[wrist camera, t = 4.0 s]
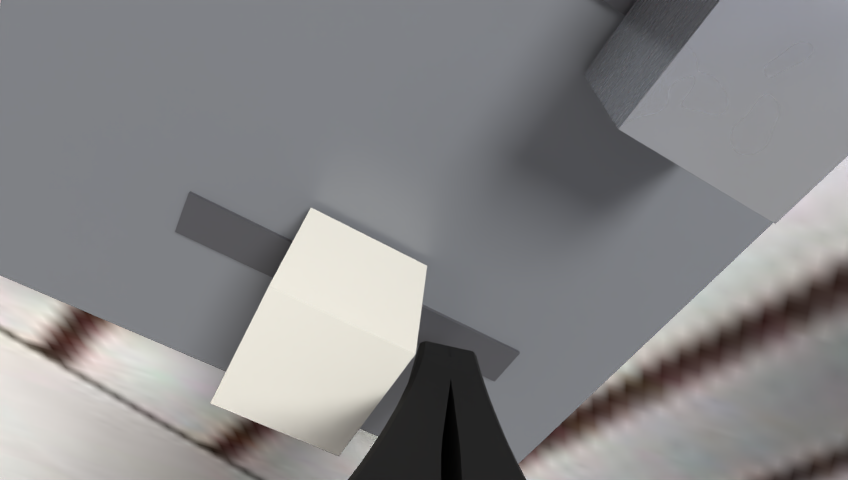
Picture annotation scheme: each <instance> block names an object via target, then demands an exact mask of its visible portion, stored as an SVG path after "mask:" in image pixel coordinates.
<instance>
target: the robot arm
mask: <svg viewBox="0 0 848 480" xmlns="http://www.w3.org/2000/svg"><path fill="white" fill-rule="evenodd" d="M348 480H526V478H525V477H524V475H523V473H522V471H521V469H520V467H519V465H518V463H517V461H516V459H515V457H514V454H513V452H512V450H511V448H510V446H509V444H508V442H507V439H506V437H505V435H504V433H503V430H502V428H501V425H500V423H499V420H498V418H497V416H496V413H495V411H494V408H493V405H492V403H491V400H490V397H489V395H488V392H487V389H486V386H485V383H484V380H483V377H482V374H481V370H480V367H479V364H478V360H477V356H476V355H475V353H474V352H473V351H469V350H465V349H460V348H456V347H451V346H447V345H442V344H438V343H434V342H429V341H424V342H421V343H420V344H419V347H418V350H417V354H416V357H415V360H414V364H413V367H412V371H411V374H410V377H409V381H408V384H407V386H406V388H405V390H404V392H403V394H402V396H401V398H400V400H399V402H398V404H397V406H396V408H395V410H394V412H393V413H392V415H391V417H390V418H389V420H388V422H387V423H386V425H385V427H384V429H383V430H382V432H381V434H380V435H379V437H378V438H377V440H376V441H375V443H374V444H373V446H372V447H371V449H370V450H369V452H368V453H367V455H366V456H365V457H364V459H363V460H362V462H361V463H360V465H359V466H358V467H357V469H356V470H355V471H354V472H353V474H352V475H351V476H350V478H349V479H348Z"/></svg>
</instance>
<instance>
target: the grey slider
mask: <svg viewBox="0 0 848 480" xmlns="http://www.w3.org/2000/svg"><path fill="white" fill-rule="evenodd" d="M584 76H585V77H586V79H587V80H588V82H589V83H590V85H591V87H592V88H593V90H594V91H595V93H596V95H597V96H598V98H599V99H600V101H601V102H602V104H603V106H604V107H605V109H606V110H607V112H608V114H609V115H610V117H611V118H612V120H613V121H614V123H615V125H616V126H617V128H618V129H619V130H621V131H622V132H624V133H626V134H627V135H629V136H630V137H632V138H634V139H635V140H637V141H639V142H640V143H642V144H644V145H645V146H647V147H649V148H650V149H652V150H654V151H655V152H657V153H659V154H660V155H662V156H664V157H665V158H667V159H669V160H670V161H672V162H674V163H675V164H677V165H679V166H680V167H682V168H684V169H685V170H687V171H689V172H690V173H692V174H694V175H695V176H697V177H699V178H700V179H702V180H704V181H705V182H707V183H709V184H710V185H712V186H714V187H715V188H717V189H719V190H720V191H722V192H724V193H725V194H727V195H729V196H730V197H732V198H733V199H735V200H737V201H738V202H740V203H742V204H743V205H745V206H747V207H748V208H750V209H752V210H753V211H755V212H757V213H758V214H760V215H762V216H763V217H765V218H767V219H768V220H770V221H772V222H773V223H775V224H776V223H777V222H778V221H779V220H780V219H781V218H782V217H783V216H784V215H785V214H786V213H787V212H788V211H789V210H791V209H792V208H793V207H794V206H795V205H796V204H797V203H798V202H799V201H800V200H801V199H802V198H803V197H804V196H805V195H806V194H808V193H809V192H810V191H811V190H812V189H813V188H814V187H815V186H816V185H817V184H818V183H819V182H820V181H821V180H822V179H823V178H824V177H826V176H827V175H828V174H829V173H830V172H831V171H832V170H833V169H834V168H835V167H836V166H837V165H838V164H839V163H840V162H841V161H843V160H844V159H845V158H846V157H847V156H848V0H636V1H635V2H634V4H633V5H632V7H631V8H630V9H629V11H628V12H627V14H626V15H625V16H624V18H623V19H622V21H621V22H620V23H619V25H618V26H617V28H616V29H615V30H614V32H613V33H612V35H611V36H610V38H609V39H608V40H607V42H606V43H605V45H604V46H603V47H602V49H601V50H600V52H599V53H598V54H597V56H596V57H595V59H594V60H593V61H592V63H591V64H590V66H589V67H588V69H587V70H586V71H585V73H584Z"/></svg>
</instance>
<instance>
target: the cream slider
mask: <svg viewBox="0 0 848 480" xmlns="http://www.w3.org/2000/svg"><path fill="white" fill-rule="evenodd" d="M426 271H427V265H425V264H423V263H421V262H419V261H417V260H415V259H413V258H411V257H409V256H407V255H405V254H403V253H401V252H399V251H397V250H395V249H393V248H391V247H389V246H387V245H385V244H383V243H381V242H379V241H377V240H375V239H373V238H371V237H369V236H367V235H365V234H363V233H361V232H359V231H357V230H355V229H353V228H351V227H349V226H347V225H345V224H343V223H341V222H339V221H337V220H335V219H333V218H331V217H329V216H327V215H325V214H323V213H321V212H319V211H317V210H315V209H313V208H310V210H309V212H308V214H307V216H306V218H305V220H304V221H303V223H302V225H301V227H300V229H299V231H298V233H297V234H296V236H295V238H294V240H293V242H292V244H291V246H290V248H289V249H288V251H287V253H286V255H285V257H284V259H283V261H282V262H281V264H280V266H279V268H278V270H277V272H276V274H275V276H274V277H273V279H272V281H271V283H270V285H269V287H268V289H267V291H266V293H265V295H264V297H263V299H262V301H261V303H260V305H259V307H258V309H257V311H256V313H255V315H254V317H253V319H252V321H251V323H250V325H249V327H248V329H247V331H246V333H245V335H244V337H243V339H242V341H241V343H240V345H239V347H238V349H237V351H236V353H235V355H234V357H233V359H232V361H231V363H230V365H229V367H228V369H227V371H226V373H225V375H224V377H223V379H222V381H221V383H220V385H219V387H218V389H217V391H216V393H215V395H214V397H213V399H212V401H211V404H213V405H215V406H218V407H220V408H223V409H225V410H228V411H230V412H232V413H235V414H237V415H240V416H242V417H245V418H247V419H249V420H252V421H254V422H257V423H259V424H262V425H264V426H266V427H269V428H271V429H274V430H276V431H279V432H281V433H283V434H286V435H288V436H291V437H293V438H296V439H298V440H300V441H303V442H305V443H308V444H310V445H313V446H315V447H317V448H320V449H322V450H325V451H327V452H330V453H332V454H334V455H337V456H339V455H340V454H341V453H342V451H343V450H344V449H345V447H346V446H347V445H348V443H349V442H350V441H351V439H352V438H353V437H354V435H355V434H356V433H357V431H358V430H359V429H360V427H361V426H362V425H363V423H364V422H365V421H366V419H367V418H368V417H369V415H370V414H371V413H372V411H373V410H374V409H375V407H376V406H377V405H378V403H379V402H380V401H381V399H382V398H383V397H384V395H385V394H386V393H387V391H388V390H389V389H390V387H391V386H392V385H393V383H394V382H395V381H396V379H397V378H398V377H399V375H400V374H401V373H402V371H403V370H404V369H405V367H406V366H407V365H408V363H409V362H410V361H411V360H412V358H413V357H414V356H415V354H416V348H417V340H418V332H419V325H420V317H421V309H422V302H423V294H424V286H425V279H426Z"/></svg>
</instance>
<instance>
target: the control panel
mask: <svg viewBox="0 0 848 480" xmlns="http://www.w3.org/2000/svg"><path fill="white" fill-rule="evenodd" d="M635 1H636V0H1V3H0V275H1V276H3V277H5V278H8V279H10V280H13V281H15V282H17V283H20V284H22V285H24V286H27V287H29V288H31V289H34V290H36V291H38V292H41V293H43V294H45V295H48V296H50V297H52V298H55V299H57V300H59V301H62V302H64V303H67V304H69V305H71V306H74V307H76V308H78V309H81V310H83V311H85V312H88V313H90V314H92V315H95V316H97V317H99V318H102V319H104V320H106V321H109V322H111V323H113V324H116V325H118V326H121V327H123V328H125V329H128V330H130V331H132V332H135V333H137V334H139V335H142V336H144V337H146V338H149V339H151V340H153V341H156V342H158V343H160V344H163V345H165V346H167V347H170V348H172V349H175V350H177V351H179V352H182V353H184V354H186V355H189V356H191V357H193V358H196V359H198V360H200V361H203V362H205V363H207V364H210V365H212V366H214V367H217V368H219V369H221V370H224V371H227V369H228V367H229V365H230V363H231V361H232V359H233V357H234V355H235V353H236V351H237V349H238V347H239V345H240V343H241V341H242V339H243V337H244V335H245V333H246V331H247V329H248V327H249V325H250V323H251V321H252V319H253V317H254V315H255V313H256V311H257V309H258V307H259V305H260V303H261V301H262V299H263V297H264V295H265V293H266V291H267V289H268V287H269V285H270V283H271V281H272V279H273V277H274V276H275V274H276V272H277V270H278V268H279V266H280V264H281V262H282V261H283V259H284V257H285V255H286V253H287V251H288V249H289V248H290V246H291V244H292V242H293V240H294V238H295V236H296V234H297V233H298V231H299V229H300V227H301V225H302V223H303V221H304V220H305V218H306V216H307V214H308V212H309V210H310V208H313V209H315V210H317V211H319V212H321V213H323V214H325V215H327V216H329V217H331V218H333V219H335V220H337V221H339V222H341V223H343V224H345V225H347V226H349V227H351V228H353V229H355V230H357V231H359V232H361V233H363V234H365V235H367V236H369V237H371V238H373V239H375V240H377V241H379V242H381V243H383V244H385V245H387V246H389V247H391V248H393V249H395V250H397V251H399V252H401V253H403V254H405V255H407V256H409V257H411V258H413V259H415V260H417V261H419V262H421V263H423V264H425V265H427V271H426V279H425V286H424V294H423V302H422V309H421V317H420V325H419V332H418V340H417V348H416V354H417V350H418V347H419V344H420V343H421V342H424V341H429V342H434V343H438V344H442V345H447V346H451V347H456V348H460V349H465V350H469V351H473V352H474V353H475V355H476V356H477V360H478V364H479V367H480V370H481V374H482V377H483V380H484V383H485V386H486V389H487V392H488V395H489V397H490V400H491V403H492V405H493V408H494V411H495V413H496V416H497V418H498V420H499V423H500V425H501V428H502V430H503V433H504V435H505V437H506V439H507V442H508V444H509V446H510V448H511V450H512V452H513V454H514V457H515V459H516V461H517V463H520V462H521V461H522V460H523V459H524V458H525V457H526V456H527V455H528V454H529V453H530V452H531V451H532V450H533V449H534V448H535V447H536V446H538V445H539V444H540V443H541V442H542V441H543V440H544V439H545V438H546V437H547V436H548V435H549V434H550V433H551V432H552V431H553V430H554V429H555V428H557V427H558V426H559V425H560V424H561V423H562V422H563V421H564V420H565V419H566V418H567V417H568V416H569V415H570V414H571V413H572V412H573V411H575V410H576V409H577V408H578V407H579V406H580V405H581V404H582V403H583V402H584V401H585V400H586V399H587V398H588V397H589V396H590V395H591V394H593V393H594V392H595V391H596V390H597V389H598V388H599V387H600V386H601V385H602V384H603V383H604V382H605V381H606V380H607V379H608V378H609V377H610V376H612V375H613V374H614V373H615V372H616V371H617V370H618V369H619V368H620V367H621V366H622V365H623V364H624V363H625V362H626V361H627V360H628V359H630V358H631V357H632V356H633V355H634V354H635V353H636V352H637V351H638V350H639V349H640V348H641V347H642V346H643V345H644V344H645V343H646V342H648V341H649V340H650V339H651V338H652V337H653V336H654V335H655V334H656V333H657V332H658V331H659V330H660V329H661V328H662V327H663V326H664V325H665V324H667V323H668V322H669V321H670V320H671V319H672V318H673V317H674V316H675V315H676V314H677V313H678V312H679V311H680V310H681V309H682V308H683V307H685V306H686V305H687V304H688V303H689V302H690V301H691V300H692V299H693V298H694V297H695V296H696V295H697V294H698V293H699V292H700V291H701V290H703V289H704V288H705V287H706V286H707V285H708V284H709V283H710V282H711V281H712V280H713V279H714V278H715V277H716V276H717V275H718V274H719V273H720V272H722V271H723V270H724V269H725V268H726V267H727V266H728V265H729V264H730V263H731V262H732V261H733V260H734V259H735V258H736V257H737V256H738V255H740V254H741V253H742V252H743V251H744V250H745V249H746V248H747V247H748V246H749V245H750V244H751V243H752V242H753V241H754V240H755V239H756V238H758V237H759V236H760V235H761V234H762V233H763V232H764V231H765V230H766V229H767V228H768V227H769V226H770V225H771V224H772V223H773V222H772V221H770V220H768V219H767V218H765V217H763V216H762V215H760V214H758V213H757V212H755V211H753V210H752V209H750V208H748V207H747V206H745V205H743V204H742V203H740V202H738V201H737V200H735V199H733V198H732V197H730V196H729V195H727V194H725V193H724V192H722V191H720V190H719V189H717V188H715V187H714V186H712V185H710V184H709V183H707V182H705V181H704V180H702V179H700V178H699V177H697V176H695V175H694V174H692V173H690V172H689V171H687V170H685V169H684V168H682V167H680V166H679V165H677V164H675V163H674V162H672V161H670V160H669V159H667V158H665V157H664V156H662V155H660V154H659V153H657V152H655V151H654V150H652V149H650V148H649V147H647V146H645V145H644V144H642V143H640V142H639V141H637V140H635V139H634V138H632V137H630V136H629V135H627V134H626V133H624V132H622V131H621V130H619V129H618V128H617V126H616V125H615V123H614V121H613V120H612V118H611V117H610V115H609V114H608V112H607V110H606V109H605V107H604V106H603V104H602V102H601V101H600V99H599V98H598V96H597V95H596V93H595V91H594V90H593V88H592V87H591V85H590V83H589V82H588V80H587V79H586V77H585V76H584V73H585V71H586V70H587V69H588V67H589V66H590V64H591V63H592V61H593V60H594V59H595V57H596V56H597V54H598V53H599V52H600V50H601V49H602V47H603V46H604V45H605V43H606V42H607V40H608V39H609V38H610V36H611V35H612V33H613V32H614V30H615V29H616V28H617V26H618V25H619V23H620V22H621V21H622V19H623V18H624V16H625V15H626V14H627V12H628V11H629V9H630V8H631V7H632V5H633V4H634V2H635ZM416 354H415V356H414V357H413V358H412V360H411V361H410V362H409V363H408V365H407V366H406V367H405V369H404V370H403V371H402V373H401V374H400V375H399V377H398V378H397V379H396V381H395V382H394V383H393V385H392V386H391V387H390V389H389V390H388V391H387V393H386V394H385V395H384V397H383V398H382V399H381V401H380V402H379V403H378V405H377V406H376V407H375V409H374V410H373V411H372V413H371V414H370V415H369V417H368V418H367V419H366V421H365V422H364V423H363V425H362V426H361V427H360V429H362V430H365V431H367V432H369V433H372V434H374V435H376V436H379V435H380V434H381V432H382V430H383V429H384V427H385V425H386V423H387V422H388V420H389V418H390V417H391V415H392V413H393V412H394V410H395V408H396V406H397V404H398V402H399V400H400V398H401V396H402V394H403V392H404V390H405V388H406V386H407V384H408V381H409V377H410V374H411V371H412V367H413V364H414V360H415V357H416Z"/></svg>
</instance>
